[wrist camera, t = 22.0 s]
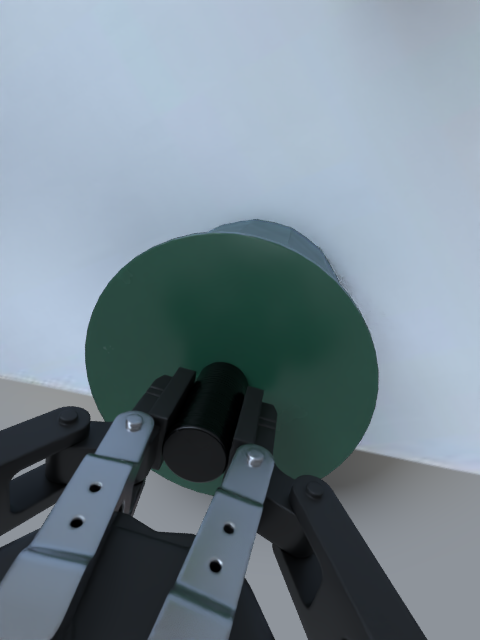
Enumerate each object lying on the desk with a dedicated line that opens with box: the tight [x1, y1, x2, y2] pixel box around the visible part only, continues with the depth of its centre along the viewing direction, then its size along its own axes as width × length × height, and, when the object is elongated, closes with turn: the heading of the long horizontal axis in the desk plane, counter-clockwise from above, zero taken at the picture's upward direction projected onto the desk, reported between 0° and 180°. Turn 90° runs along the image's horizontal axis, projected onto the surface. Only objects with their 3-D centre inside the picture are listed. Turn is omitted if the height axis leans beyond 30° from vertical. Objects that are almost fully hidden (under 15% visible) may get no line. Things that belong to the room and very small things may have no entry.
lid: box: [85, 231, 378, 496], centre depth 15 cm, size 13×13×6 cm
